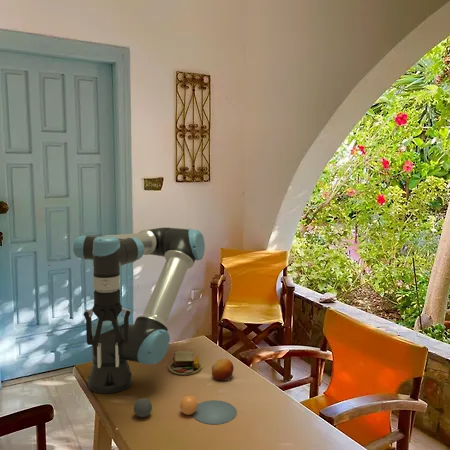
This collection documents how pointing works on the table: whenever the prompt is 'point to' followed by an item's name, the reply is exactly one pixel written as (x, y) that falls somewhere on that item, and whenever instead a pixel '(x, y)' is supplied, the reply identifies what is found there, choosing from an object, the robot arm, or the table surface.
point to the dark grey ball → (142, 407)
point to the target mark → (214, 412)
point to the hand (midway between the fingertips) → (108, 365)
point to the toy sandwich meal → (184, 363)
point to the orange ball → (188, 405)
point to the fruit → (222, 369)
